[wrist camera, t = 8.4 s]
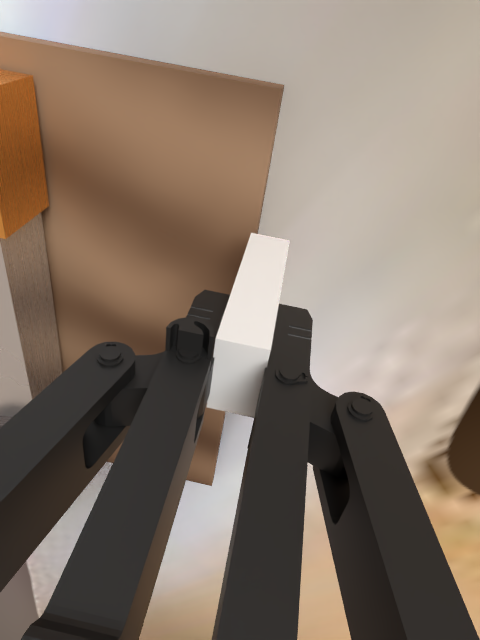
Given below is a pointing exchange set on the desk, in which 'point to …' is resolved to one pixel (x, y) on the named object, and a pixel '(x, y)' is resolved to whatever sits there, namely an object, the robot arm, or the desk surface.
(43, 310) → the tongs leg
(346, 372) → the desk surface
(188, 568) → the desk surface
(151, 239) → the board
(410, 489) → the robot arm
